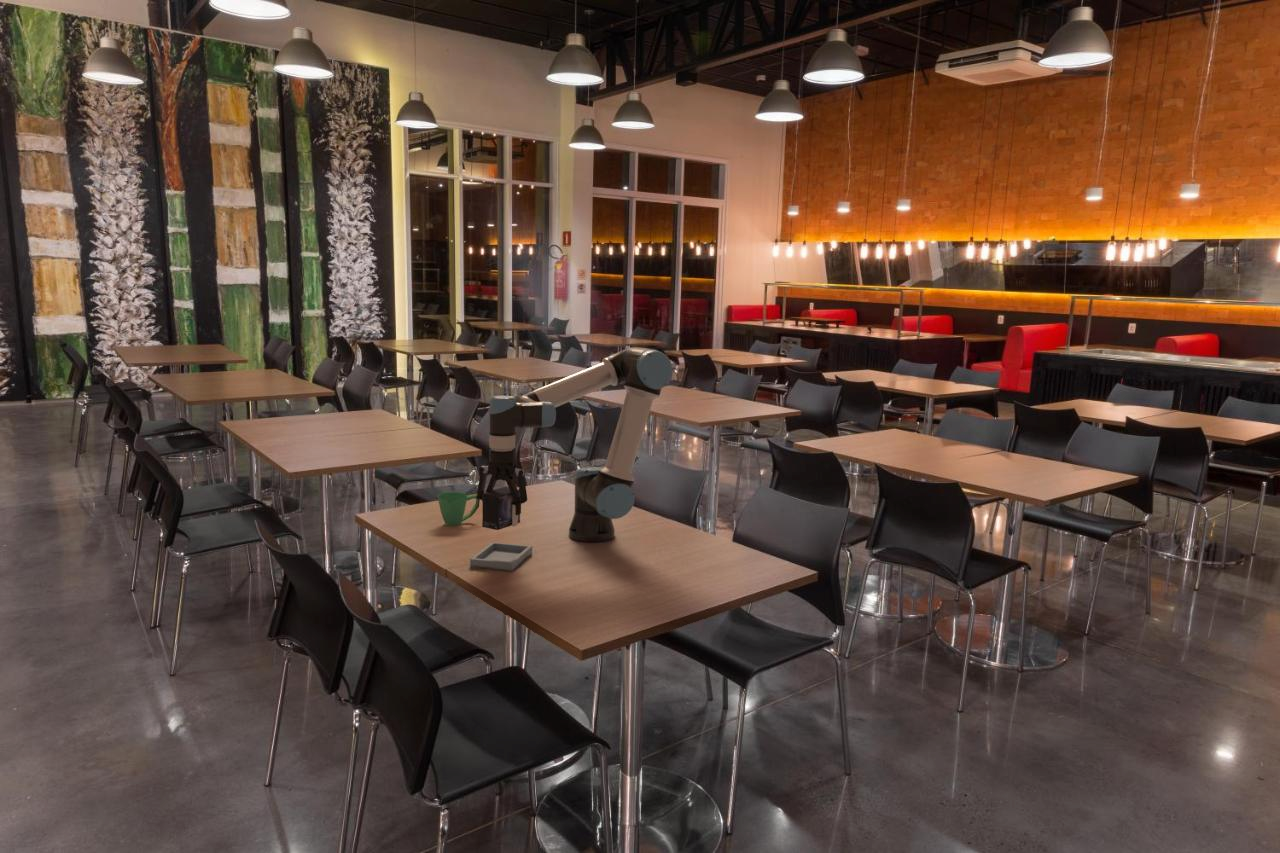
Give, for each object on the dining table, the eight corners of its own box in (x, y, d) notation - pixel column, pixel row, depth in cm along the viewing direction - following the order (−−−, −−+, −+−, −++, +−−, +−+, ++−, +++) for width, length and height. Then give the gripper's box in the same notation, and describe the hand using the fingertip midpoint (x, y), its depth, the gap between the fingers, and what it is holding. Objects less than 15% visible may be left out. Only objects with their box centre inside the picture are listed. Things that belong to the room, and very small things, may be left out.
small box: (498, 531, 245) (498, 495, 243) (481, 527, 248) (480, 492, 246) (521, 522, 254) (521, 488, 252) (504, 519, 257) (504, 486, 255)
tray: (532, 553, 260) (532, 545, 259) (512, 571, 243) (512, 563, 243) (492, 549, 262) (492, 541, 262) (470, 567, 246) (470, 558, 245)
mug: (444, 529, 281) (444, 500, 280) (433, 522, 289) (433, 494, 287) (485, 523, 289) (485, 495, 288) (473, 517, 297) (473, 489, 296)
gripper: (539, 448, 249) (538, 523, 252) (474, 443, 253) (474, 517, 256) (531, 453, 241) (530, 530, 245) (464, 448, 245) (464, 524, 249)
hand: (501, 523), depth 251 cm, fingers closed on small box, 8 cm apart
